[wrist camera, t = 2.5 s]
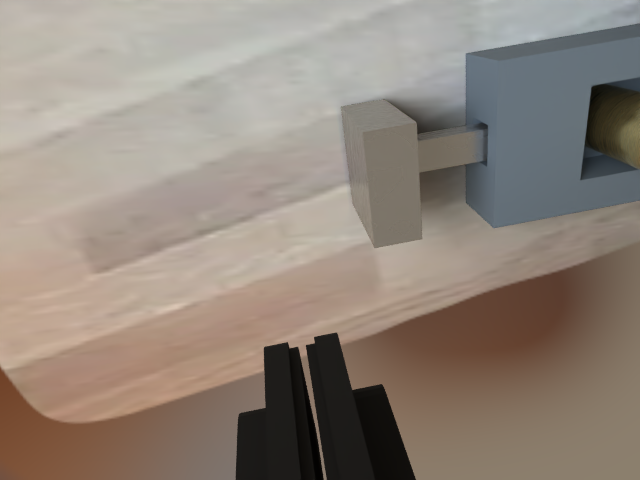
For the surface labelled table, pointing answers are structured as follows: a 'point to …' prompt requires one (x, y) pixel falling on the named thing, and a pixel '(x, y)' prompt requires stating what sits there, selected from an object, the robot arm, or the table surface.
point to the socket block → (547, 126)
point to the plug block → (399, 165)
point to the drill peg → (614, 123)
